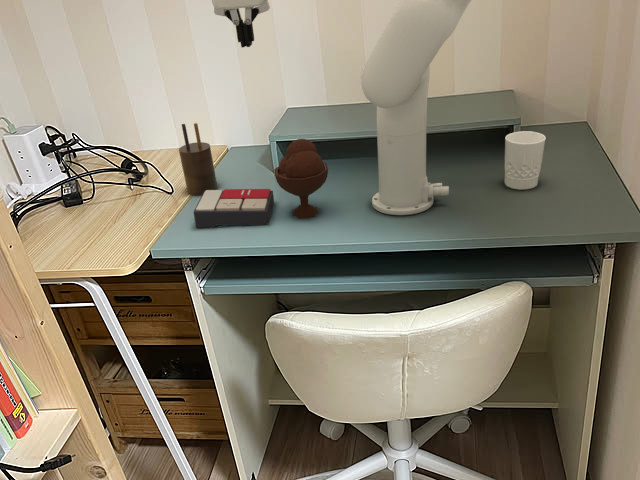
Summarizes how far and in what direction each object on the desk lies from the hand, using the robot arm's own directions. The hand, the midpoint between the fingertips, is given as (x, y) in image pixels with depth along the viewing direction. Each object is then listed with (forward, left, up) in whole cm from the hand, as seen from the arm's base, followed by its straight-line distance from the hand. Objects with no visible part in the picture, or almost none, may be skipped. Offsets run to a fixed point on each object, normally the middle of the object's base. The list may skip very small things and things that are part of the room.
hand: (246, 45), depth 127 cm
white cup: (-55, 0, -31) cm, 63 cm away
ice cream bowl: (-10, +11, -31) cm, 35 cm away
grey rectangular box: (+5, +11, -31) cm, 34 cm away
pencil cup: (+16, -4, -31) cm, 35 cm away
